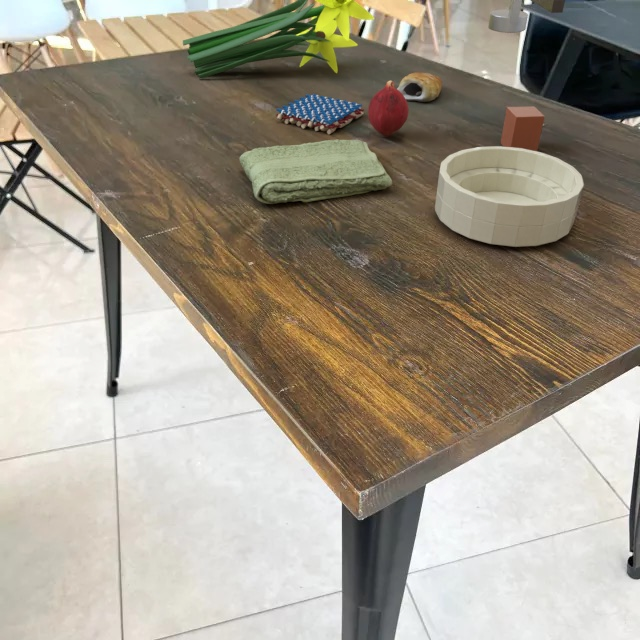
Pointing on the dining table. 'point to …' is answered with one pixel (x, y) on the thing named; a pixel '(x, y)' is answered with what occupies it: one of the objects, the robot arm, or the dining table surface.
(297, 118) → the woven mat
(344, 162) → the washcloth
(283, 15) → the daffodil flowers
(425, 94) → the pastry
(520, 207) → the bowl
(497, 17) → the ladle
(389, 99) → the onion
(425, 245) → the dining table surface
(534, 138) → the terracotta upright block
